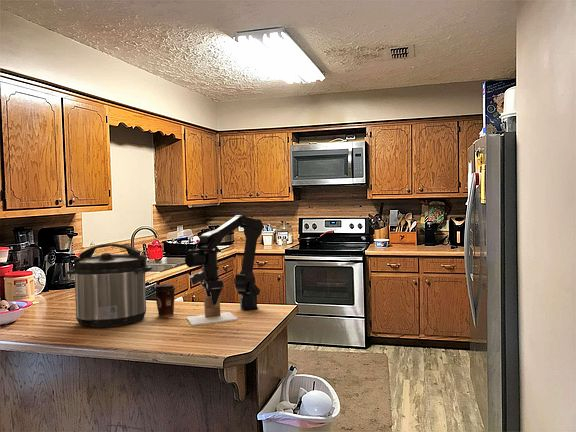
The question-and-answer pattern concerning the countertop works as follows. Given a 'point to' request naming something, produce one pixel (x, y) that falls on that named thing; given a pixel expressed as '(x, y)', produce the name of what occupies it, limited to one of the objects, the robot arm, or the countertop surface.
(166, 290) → the coffee cup
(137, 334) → the countertop surface
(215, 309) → the walnut slab
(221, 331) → the countertop surface
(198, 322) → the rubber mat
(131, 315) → the pressure cooker
